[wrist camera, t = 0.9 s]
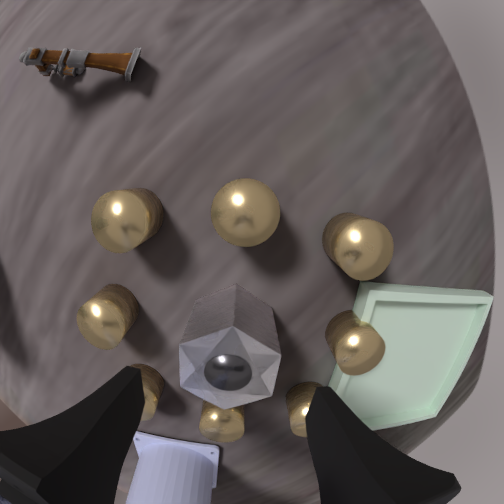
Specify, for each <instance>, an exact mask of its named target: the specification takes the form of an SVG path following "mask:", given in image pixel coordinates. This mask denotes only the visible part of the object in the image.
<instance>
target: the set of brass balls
mask: <svg viewBox="0 0 504 504" xmlns="http://www.w3.org/2000/svg"><path fill="white" fill-rule="evenodd" d="M211 219H212V223H213V225H214V228H215V230H216V231H217V233H218V234H219V235H220V236H221V237H222V238H223V239H224V240H225V241H227V242H229V243H231V244H233V245H236V246H241V247H251V246H255V245H258V244H260V243H262V242H264V241H266V240H267V239H268V238H269V237H270V236H271V235H272V234H273V233H274V231H275V230H276V228H277V226H278V223H279V219H280V207H279V202H278V200H277V198H276V196H275V194H274V193H273V191H272V190H271V189H270V188H269V187H268V186H267V185H265V184H264V183H262V182H260V181H257V180H254V179H238V180H234V181H231V182H230V183H228V184H226V185H225V186H223V187H222V188H221V189H220V190H219V192H218V193H217V194H216V196H215V198H214V200H213V203H212V207H211ZM162 222H163V208H162V204H161V202H160V200H159V199H158V197H157V196H156V195H155V194H154V193H153V192H151V191H149V190H147V189H143V188H135V189H125V190H116V191H111V192H108V193H106V194H104V195H103V196H102V197H101V198H99V200H98V201H97V202H96V204H95V206H94V208H93V211H92V217H91V224H92V230H93V233H94V235H95V237H96V239H97V241H98V242H99V243H100V244H101V245H102V246H103V247H104V248H105V249H107V250H109V251H111V252H114V253H125V252H128V251H130V250H132V249H134V248H135V247H137V246H138V245H140V244H141V243H143V242H144V241H146V240H148V239H149V238H151V237H152V236H154V235H155V234H156V233H157V232H158V230H159V229H160V227H161V225H162ZM322 243H323V248H324V250H325V252H326V254H327V255H328V256H329V257H330V258H331V259H332V260H333V261H334V262H335V263H336V264H337V265H338V266H339V267H340V268H341V269H342V270H343V271H344V272H345V273H346V274H348V275H349V276H350V277H352V278H354V279H356V280H361V281H365V280H370V279H373V278H375V277H377V276H379V275H380V274H381V273H382V272H383V271H384V270H385V269H386V268H387V266H388V265H389V263H390V261H391V258H392V255H393V240H392V236H391V234H390V232H389V231H388V229H387V228H386V227H385V226H384V225H383V224H381V223H379V222H377V221H374V220H371V219H368V218H365V217H362V216H359V215H356V214H353V213H342V214H339V215H337V216H335V217H333V218H332V219H331V220H330V221H329V222H328V224H327V225H326V227H325V229H324V232H323V237H322ZM138 313H139V308H138V303H137V301H136V299H135V297H134V295H133V294H132V293H131V292H130V291H129V290H128V289H127V288H125V287H123V286H121V285H118V284H109V285H107V286H105V287H104V288H103V289H101V290H100V291H99V292H98V293H97V294H95V295H94V296H93V297H92V298H91V299H90V300H88V301H87V302H86V303H85V304H84V305H83V306H82V307H80V309H79V310H78V313H77V324H78V327H79V330H80V332H81V333H82V335H83V336H84V338H85V339H86V340H87V341H88V342H89V343H91V344H92V345H94V346H95V347H97V348H100V349H104V350H110V349H113V348H115V347H116V346H118V344H119V343H120V341H121V340H122V339H123V337H124V336H125V334H126V333H127V332H128V330H129V329H130V327H131V326H132V325H133V323H134V322H135V320H136V319H137V317H138ZM325 338H326V341H327V343H328V345H329V347H330V349H331V351H332V353H333V355H334V357H335V359H336V362H337V364H338V366H339V368H340V370H341V371H342V372H343V373H345V374H347V375H352V376H356V375H361V374H364V373H367V372H369V371H370V370H372V369H373V368H374V367H376V366H377V365H378V364H379V362H380V361H381V360H382V358H383V356H384V353H385V348H386V346H385V342H384V340H383V338H382V337H381V336H380V335H379V333H378V332H377V331H376V330H375V328H374V327H373V326H372V325H371V324H370V322H369V323H368V322H364V321H361V320H360V319H359V318H358V317H357V315H356V314H355V313H354V311H353V310H348V311H344V312H341V313H339V314H338V315H336V316H335V317H334V318H333V319H332V320H331V321H330V322H329V324H328V326H327V328H326V331H325ZM130 367H135V368H139V369H141V376H142V383H143V390H144V397H145V406H144V409H143V413H142V417H141V421H145V420H149V419H151V418H152V417H153V416H154V413H155V410H156V407H157V404H158V401H159V398H160V396H161V393H162V390H163V387H164V381H163V378H162V377H161V375H160V374H159V373H158V372H157V371H156V370H155V369H153V368H151V367H149V366H147V365H144V364H133V365H131V366H130ZM316 387H323V386H322V385H320V384H319V383H316V382H304V383H301V384H298V385H296V386H294V387H293V388H291V389H290V390H289V392H288V393H287V395H286V403H287V409H288V414H289V420H290V426H291V430H292V432H293V433H294V434H295V435H297V436H301V437H307V433H306V423H305V417H306V414H307V411H308V409H309V406H310V404H311V401H312V398H313V395H314V393H315V390H316ZM199 430H200V432H201V434H202V435H203V436H205V437H206V438H208V439H210V440H213V441H216V442H232V441H236V440H238V439H240V438H241V437H242V436H243V434H244V404H243V405H240V406H236V407H232V408H228V409H222V408H220V407H218V406H216V405H214V404H212V403H210V402H208V401H206V400H204V401H203V407H202V413H201V419H200V425H199Z"/></svg>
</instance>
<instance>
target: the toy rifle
mask: <svg viewBox="0 0 504 504" xmlns="http://www.w3.org/2000/svg"><path fill="white" fill-rule="evenodd" d="M140 53H141V48H135V49H134V51H133V53H122V54H118V53H106V54H98V53H90V52H89V50H88V51H81V50H74V49H72V50H71V51H69V50H68V49H63V51H54V50H47V49H46V48H30V47H29V48H28V50H27V52H23V53H22V54H21V55H20V57H19V60H20V62H24V63H25V64H26V66H28V65H35V66H36V67H37V68H38V69H39V71H38V72H39V73H40V74H42V75H43V76H50V74H51V71H52V70H54V72H55V73H57V71H58V73H59V75H60V76H61V77H62V78H63V76H64V75H69V76H74V77H75V76H76V73H77V74H81V73H83V71H84V69H86V67H91V68H98V69H103V70H107V71H112V72H116V73H119V74H122V75H125V81H129V82H131V73H132V70H133V68H134V65H135V62H136V60H137V58H139V57H140ZM51 64H56V66H55V67H54V66H53V65H51ZM51 66H52V67H51Z"/></svg>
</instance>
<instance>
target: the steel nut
mask: <svg viewBox="0 0 504 504" xmlns="http://www.w3.org/2000/svg"><path fill="white" fill-rule="evenodd" d="M179 360H180V387H182V388H184V389H185V390H187V391H189V392H191V393H193V394H195V395H196V396H198V397H200V398H202V399H204V400H206V401H208V402H210V403H212V404H214V405H216V406H218V407H220V408H222V409H228V408H232V407H236V406H240V405H243V404H247V403H251V402H254V401H257V400H261V399H264V398H267V397H270V396H272V394H273V390H274V386H275V381H276V377H277V373H278V369H279V364H280V360H281V350H280V345H279V340H278V336H277V331H276V326H275V321H274V316H273V311H272V307H271V306H269V305H268V304H266V303H265V302H263V301H262V300H260V299H259V298H257V297H256V296H254V295H253V294H251V293H250V292H249V291H247V290H246V289H244V288H243V287H241V286H240V285H238V284H237V283H236V284H233V285H231V286H228V287H226V288H223V289H221V290H218V291H216V292H213V293H211V294H208V295H205V296H203V297H200V298H198V299H196V302H195V305H194V307H193V310H192V312H191V315H190V318H189V320H188V323H187V325H186V328H185V331H184V333H183V336H182V339H181V341H180V344H179Z"/></svg>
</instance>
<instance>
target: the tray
mask: <svg viewBox="0 0 504 504" xmlns="http://www.w3.org/2000/svg"><path fill="white" fill-rule="evenodd" d="M493 298H494V297H493V296H492V295H490V294H488V293H486V292H485V291H483V290H467V289H452V288H438V287H425V286H412V285H400V284H388V283H376V282H365V281H360V284H359V288H358V292H357V296H356V299H355V303H354V307H353V311H354V313H355V314H356V315H357V317H358V318H359V319H360V320H361V321H364V322H368V323H369V322H370V324H371V325H372V326H373V327H374V328H375V330H376V331H377V332H378V333H379V335H380V336H381V337H382V338H383V340H384V342H385V346H386V348H385V353H384V356H383V358H382V360H381V361H380V362H379V364H378V365H377V366H376V367H374V368H373V369H372V370H370V371H369V372H367V373H364V374H361V375H356V376H352V375H347V374H345V373H343V372H342V371H341V370H340V368H339V366H338V364H337V362H336V365H335V368H334V371H333V374H332V376H331V379H330V382H329V385H328V387H331V388H332V389H333V390H334V391H335V392H336V394H337V395H338V396H339V397H340V398H341V399H342V400H343V402H344V403H345V404H346V405H347V406H348V407H349V408H350V409H351V410H352V411H353V412H354V413H355V415H356V416H357V417H358V418H359V419H360V420H361V421H362V422H363V423H365V424H366V425H367V426H368V427H369V428H370V429H371V430H372V431H373V430H379V429H384V428H390V427H395V426H400V425H404V424H409V423H413V422H417V421H421V420H425V419H429V418H432V417H436V415H437V414H438V412H439V411H440V409H441V407H442V406H443V404H444V403H445V401H446V399H447V398H448V396H449V394H450V393H451V391H452V389H453V388H454V386H455V384H456V382H457V380H458V379H459V377H460V375H461V373H462V371H463V369H464V367H465V365H466V363H467V361H468V359H469V357H470V355H471V353H472V351H473V349H474V347H475V344H476V342H477V340H478V337H479V335H480V333H481V330H482V328H483V325H484V323H485V320H486V318H487V315H488V312H489V309H490V307H491V304H492V301H493Z"/></svg>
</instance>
